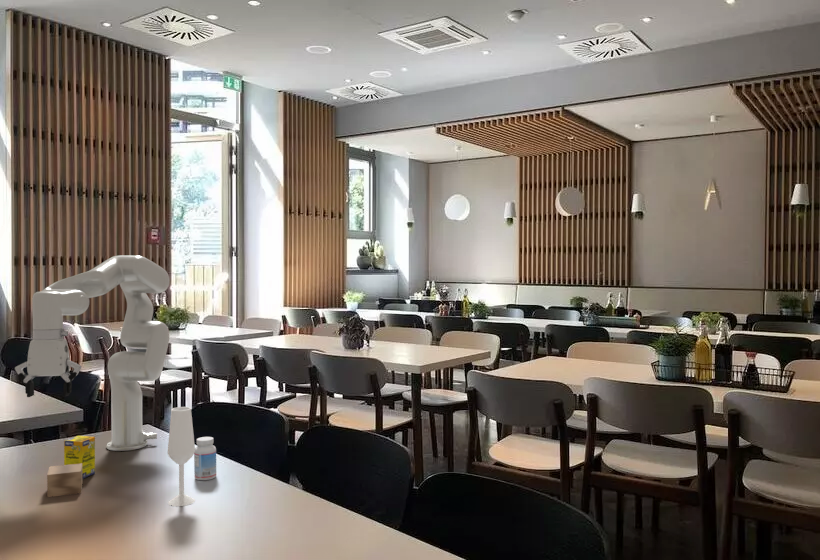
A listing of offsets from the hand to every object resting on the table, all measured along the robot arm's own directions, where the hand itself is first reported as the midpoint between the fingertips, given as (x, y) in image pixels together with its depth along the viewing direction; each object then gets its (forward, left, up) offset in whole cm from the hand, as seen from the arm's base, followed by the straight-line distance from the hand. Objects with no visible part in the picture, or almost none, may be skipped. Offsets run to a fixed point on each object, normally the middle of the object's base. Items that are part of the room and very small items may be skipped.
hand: (48, 395), depth 194 cm
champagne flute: (-33, +33, -24) cm, 52 cm away
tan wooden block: (-5, +12, -24) cm, 27 cm away
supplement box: (-8, 0, -24) cm, 25 cm away
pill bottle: (-41, +15, -24) cm, 50 cm away
